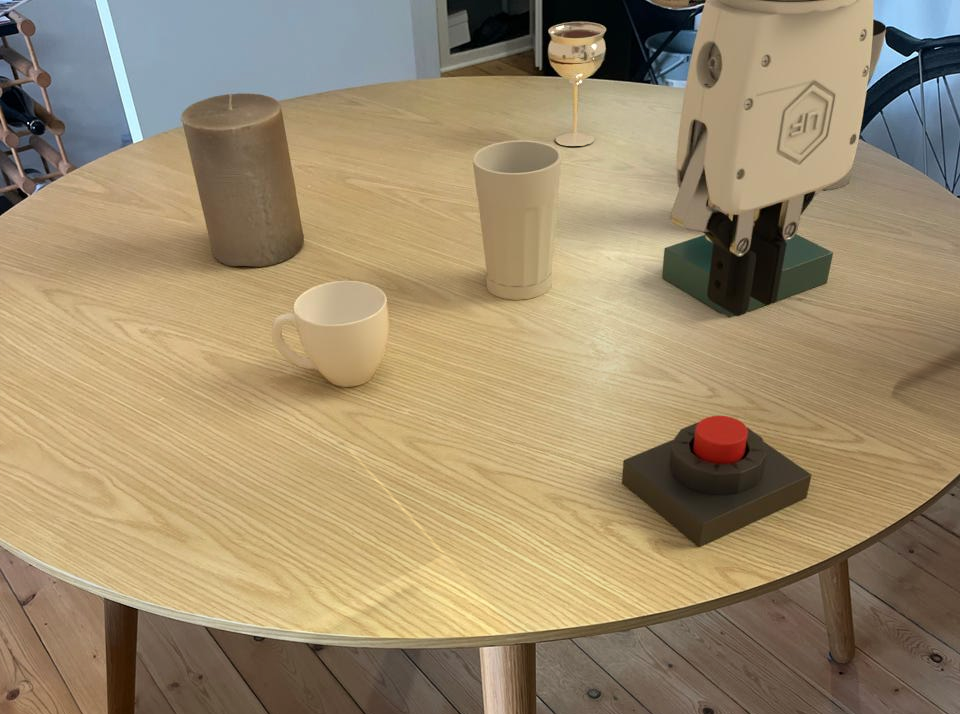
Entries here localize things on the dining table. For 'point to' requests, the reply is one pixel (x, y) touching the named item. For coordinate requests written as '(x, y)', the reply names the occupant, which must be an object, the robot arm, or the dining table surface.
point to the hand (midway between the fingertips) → (741, 299)
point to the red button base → (714, 486)
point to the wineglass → (576, 61)
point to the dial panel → (799, 273)
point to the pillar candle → (244, 178)
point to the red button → (720, 440)
